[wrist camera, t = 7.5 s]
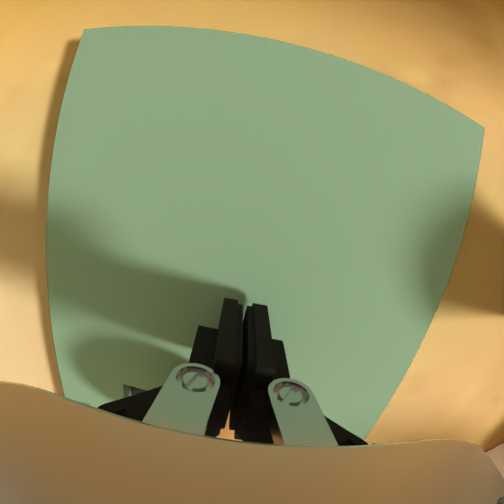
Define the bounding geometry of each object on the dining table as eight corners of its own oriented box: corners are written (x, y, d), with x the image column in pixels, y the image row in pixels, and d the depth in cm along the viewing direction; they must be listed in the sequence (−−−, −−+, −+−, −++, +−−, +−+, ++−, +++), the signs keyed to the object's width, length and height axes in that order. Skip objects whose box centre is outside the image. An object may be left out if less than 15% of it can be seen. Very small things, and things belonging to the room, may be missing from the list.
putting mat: (98, 39, 10) (84, 29, 8) (465, 128, 11) (484, 127, 10) (93, 456, 17) (88, 469, 16) (307, 491, 19) (310, 504, 17)
